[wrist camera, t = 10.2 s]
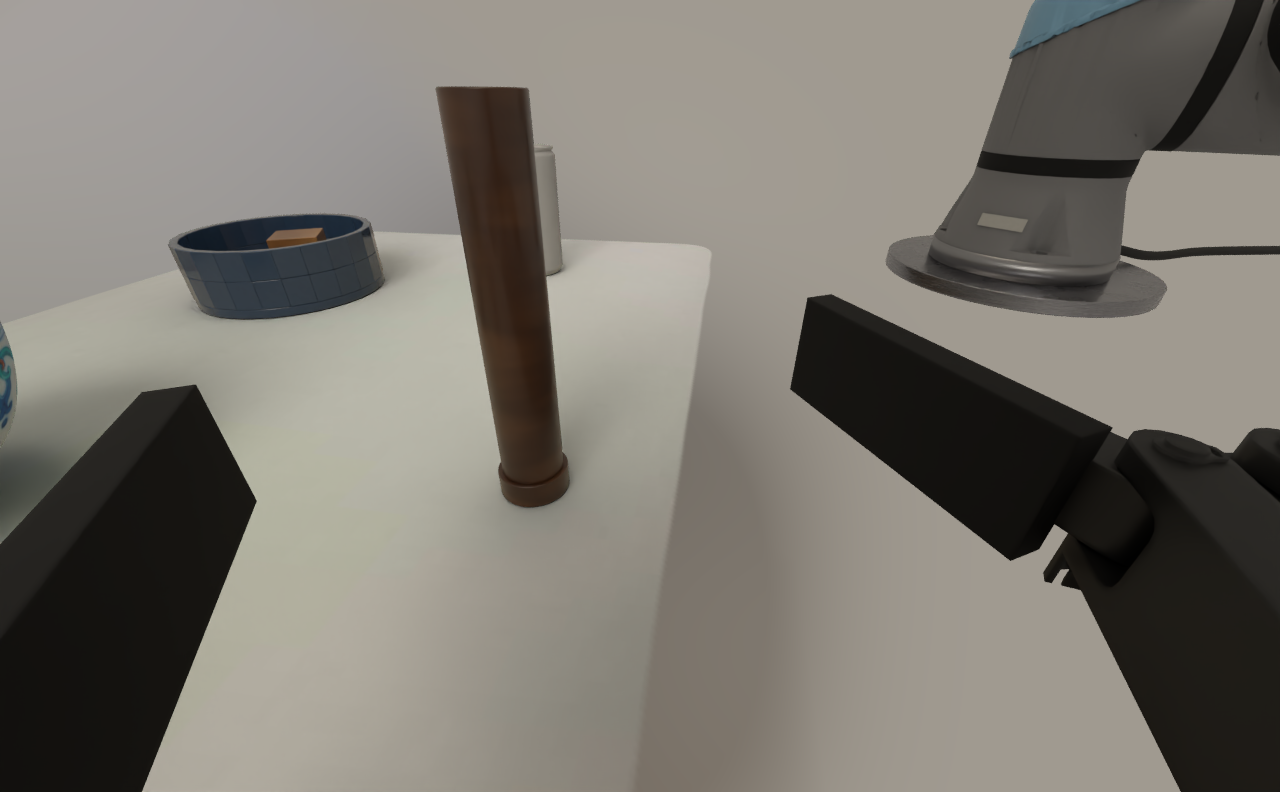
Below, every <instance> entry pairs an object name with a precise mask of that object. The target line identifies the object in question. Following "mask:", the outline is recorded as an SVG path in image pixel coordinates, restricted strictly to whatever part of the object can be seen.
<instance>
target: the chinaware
mask: <svg viewBox="0 0 1280 792" xmlns="http://www.w3.org/2000/svg"><path fill="white" fill-rule="evenodd" d="M16 402H17V377H16V370H15V364H14V359H13V355H12V351H11V348H10V345H9V342H8V339H7V336H6V334H5V331H4V329H3V326H2V324H1V322H0V449H1V447H2V445H3V443H4V442H5V439H6V437H7V435H8V433H9V430H10V428H11V425H12V422H13V418H14V414H15V410H16Z"/></svg>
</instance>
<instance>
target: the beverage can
mask: <svg viewBox="0 0 1280 792" xmlns="http://www.w3.org/2000/svg"><path fill="white" fill-rule="evenodd" d="M552 148H553V147H552V145H545V144H534V151H535V162H536V173H537V184H538V194H539V205H540V216H541V227H542V237H543V248H544V259H545V270H546V276H547V275H551V274H554V273H557V272H558V271H559V270H560V268H561V267H562V265H563V263H562V249H561V236H560V222H559V209H558V197H557V196H558V194H557V182H556V167H555V155H554V153H553V152H552V151H551V149H552Z"/></svg>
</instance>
